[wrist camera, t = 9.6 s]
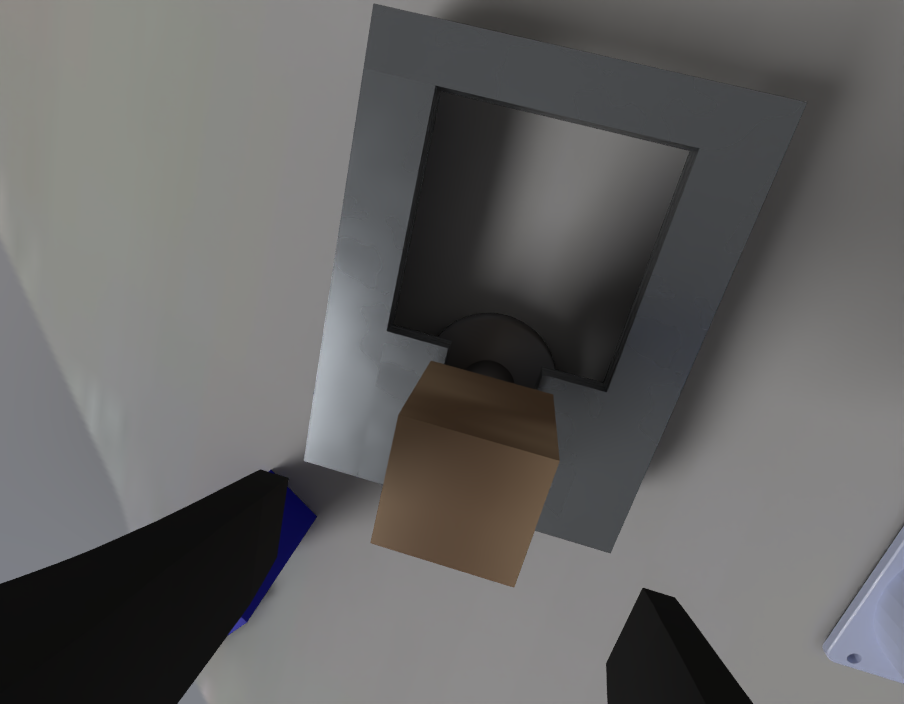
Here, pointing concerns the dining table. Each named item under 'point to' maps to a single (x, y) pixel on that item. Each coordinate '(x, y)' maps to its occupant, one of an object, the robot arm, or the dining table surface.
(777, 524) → the dining table surface
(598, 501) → the notched window frame
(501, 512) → the peg
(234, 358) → the dining table surface
